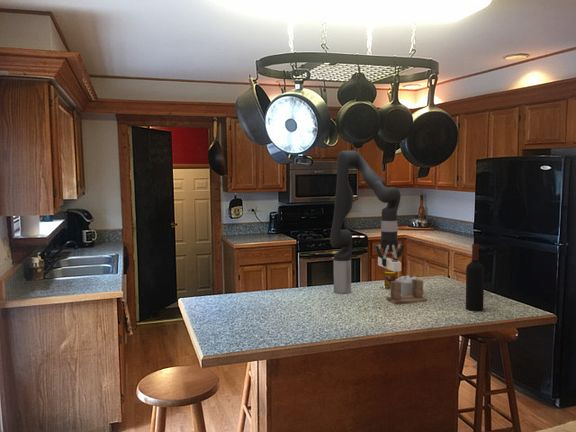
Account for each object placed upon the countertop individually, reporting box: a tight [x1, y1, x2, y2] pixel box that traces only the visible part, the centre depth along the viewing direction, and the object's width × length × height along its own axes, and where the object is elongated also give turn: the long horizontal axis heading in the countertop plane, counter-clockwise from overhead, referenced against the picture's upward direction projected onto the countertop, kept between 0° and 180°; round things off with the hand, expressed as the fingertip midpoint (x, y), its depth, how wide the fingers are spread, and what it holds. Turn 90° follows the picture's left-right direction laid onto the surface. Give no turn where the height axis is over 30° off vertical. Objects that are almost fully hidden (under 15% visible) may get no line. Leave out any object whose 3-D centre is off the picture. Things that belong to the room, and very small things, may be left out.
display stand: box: [386, 278, 428, 305], centre depth 238 cm, size 10×17×10 cm, turn 106°
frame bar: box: [377, 256, 402, 272], centre depth 227 cm, size 16×4×4 cm, turn 17°
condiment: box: [380, 268, 397, 290], centre depth 263 cm, size 7×8×12 cm
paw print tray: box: [396, 275, 418, 295], centre depth 252 cm, size 10×13×9 cm
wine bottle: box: [465, 243, 485, 312], centre depth 219 cm, size 8×8×30 cm
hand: (389, 266), depth 227 cm, fingers closed on frame bar, 4 cm apart
